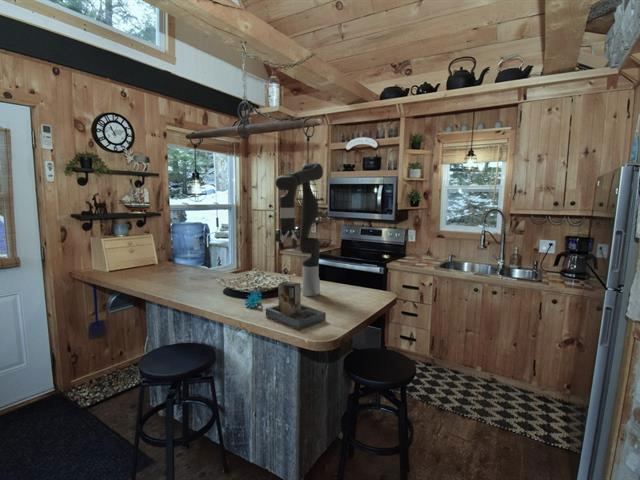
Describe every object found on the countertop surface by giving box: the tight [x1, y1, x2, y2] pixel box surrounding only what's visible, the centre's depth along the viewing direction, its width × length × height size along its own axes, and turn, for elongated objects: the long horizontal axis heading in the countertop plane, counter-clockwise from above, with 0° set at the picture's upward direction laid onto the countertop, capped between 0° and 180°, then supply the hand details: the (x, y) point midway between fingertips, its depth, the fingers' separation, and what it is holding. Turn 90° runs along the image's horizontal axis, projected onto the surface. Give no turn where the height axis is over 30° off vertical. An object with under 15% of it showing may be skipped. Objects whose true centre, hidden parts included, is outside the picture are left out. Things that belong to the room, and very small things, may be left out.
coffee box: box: [277, 281, 302, 315], centre depth 162 cm, size 9×6×16 cm
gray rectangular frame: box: [265, 304, 327, 331], centre depth 159 cm, size 16×24×4 cm, turn 45°
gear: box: [244, 290, 264, 309], centre depth 177 cm, size 11×6×10 cm
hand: (288, 248), depth 171 cm, fingers open, 8 cm apart
